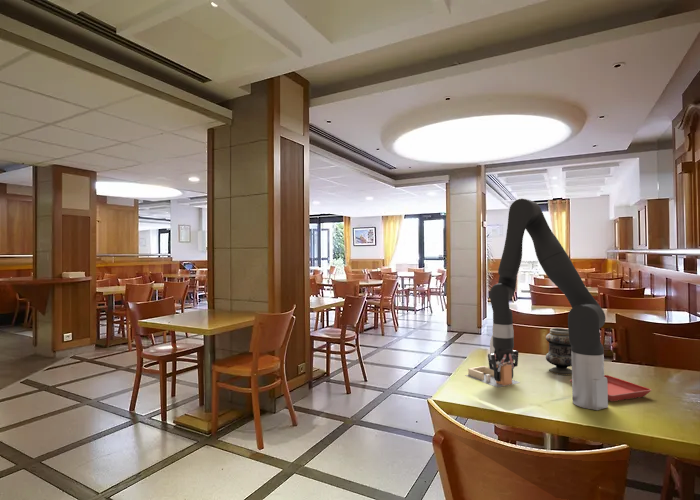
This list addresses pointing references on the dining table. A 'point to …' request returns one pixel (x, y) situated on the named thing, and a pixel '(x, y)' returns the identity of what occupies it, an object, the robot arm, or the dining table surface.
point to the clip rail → (485, 376)
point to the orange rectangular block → (505, 374)
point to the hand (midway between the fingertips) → (503, 379)
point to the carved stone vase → (559, 351)
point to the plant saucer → (623, 389)
